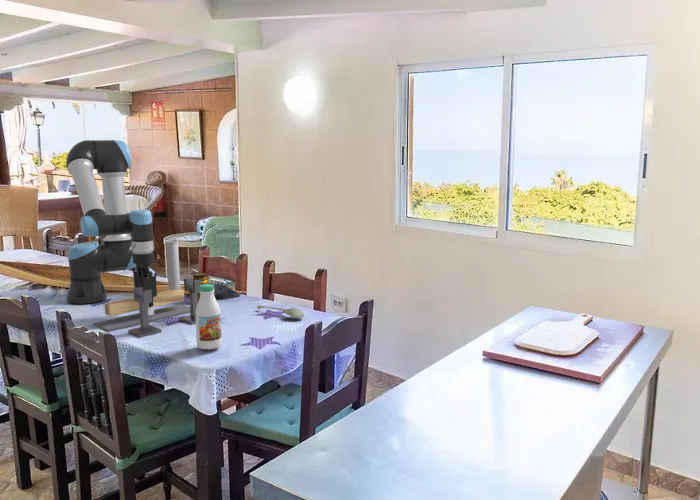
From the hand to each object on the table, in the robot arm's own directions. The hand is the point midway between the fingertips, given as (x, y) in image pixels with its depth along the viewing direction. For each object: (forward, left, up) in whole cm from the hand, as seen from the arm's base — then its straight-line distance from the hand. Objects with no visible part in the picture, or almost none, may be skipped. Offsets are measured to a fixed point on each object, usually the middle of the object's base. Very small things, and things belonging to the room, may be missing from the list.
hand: (146, 313), depth 226 cm
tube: (-16, +22, -2) cm, 27 cm away
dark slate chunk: (-12, +39, -2) cm, 41 cm away
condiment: (-4, +26, -2) cm, 26 cm away
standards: (+16, 0, -2) cm, 16 cm away
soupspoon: (+33, +34, 0) cm, 47 cm away
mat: (0, 0, -2) cm, 2 cm away
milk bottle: (+45, -4, -2) cm, 45 cm away
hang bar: (0, 0, +3) cm, 3 cm away
